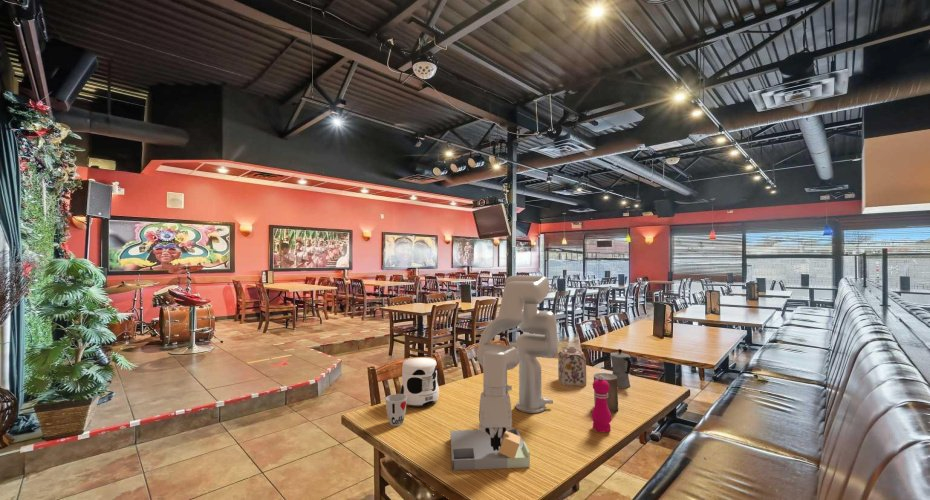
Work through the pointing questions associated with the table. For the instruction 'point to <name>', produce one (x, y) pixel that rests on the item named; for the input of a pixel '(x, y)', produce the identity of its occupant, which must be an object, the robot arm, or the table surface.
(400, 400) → the cup
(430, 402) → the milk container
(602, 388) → the pepper mill
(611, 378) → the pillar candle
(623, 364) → the coffeepot
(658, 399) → the table surface
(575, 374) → the decorative jar
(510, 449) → the block
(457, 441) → the grey sorting tray
